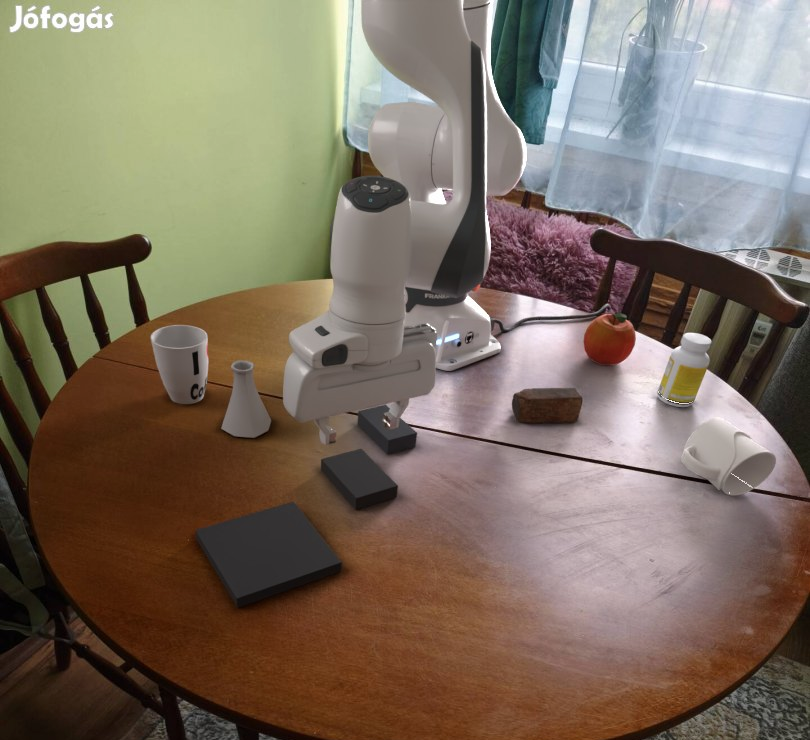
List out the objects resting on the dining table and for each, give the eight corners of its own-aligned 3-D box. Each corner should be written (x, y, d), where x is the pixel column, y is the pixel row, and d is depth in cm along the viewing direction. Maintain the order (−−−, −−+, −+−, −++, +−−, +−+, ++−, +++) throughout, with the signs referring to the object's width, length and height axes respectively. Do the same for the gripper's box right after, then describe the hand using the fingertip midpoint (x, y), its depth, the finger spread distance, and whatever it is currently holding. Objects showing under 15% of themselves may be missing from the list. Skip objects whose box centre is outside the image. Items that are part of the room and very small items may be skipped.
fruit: (620, 351, 138) (635, 301, 131) (633, 373, 131) (650, 322, 124) (573, 347, 137) (586, 297, 131) (584, 369, 130) (599, 318, 123)
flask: (279, 420, 106) (277, 360, 100) (256, 443, 101) (253, 382, 94) (237, 409, 108) (232, 349, 101) (212, 431, 102) (206, 369, 96)
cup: (200, 413, 106) (193, 352, 99) (150, 403, 107) (140, 342, 100) (221, 388, 112) (216, 330, 106) (174, 380, 113) (166, 321, 106)
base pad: (293, 510, 90) (293, 501, 89) (341, 571, 82) (341, 562, 81) (196, 539, 84) (194, 529, 83) (237, 608, 76) (236, 598, 75)
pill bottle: (699, 408, 122) (725, 346, 115) (666, 409, 121) (690, 347, 113) (681, 390, 127) (704, 330, 120) (649, 391, 126) (671, 330, 118)
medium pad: (360, 459, 100) (361, 448, 99) (397, 497, 94) (398, 485, 93) (320, 470, 97) (320, 458, 96) (355, 510, 91) (356, 498, 90)
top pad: (384, 418, 110) (385, 404, 108) (415, 446, 104) (417, 432, 103) (357, 425, 108) (358, 411, 106) (387, 454, 102) (388, 440, 100)
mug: (718, 457, 110) (738, 413, 105) (762, 490, 104) (786, 446, 99) (659, 469, 106) (677, 424, 101) (701, 505, 100) (723, 459, 94)
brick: (569, 411, 117) (575, 386, 114) (577, 423, 114) (584, 398, 111) (509, 412, 115) (514, 386, 112) (516, 424, 112) (521, 398, 109)
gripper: (424, 311, 88) (413, 407, 97) (275, 334, 79) (278, 438, 88) (452, 331, 84) (438, 429, 93) (300, 358, 75) (300, 464, 84)
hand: (359, 434), depth 90 cm, fingers open, 8 cm apart
